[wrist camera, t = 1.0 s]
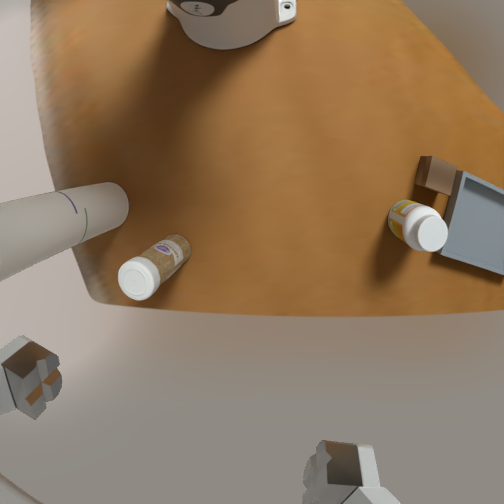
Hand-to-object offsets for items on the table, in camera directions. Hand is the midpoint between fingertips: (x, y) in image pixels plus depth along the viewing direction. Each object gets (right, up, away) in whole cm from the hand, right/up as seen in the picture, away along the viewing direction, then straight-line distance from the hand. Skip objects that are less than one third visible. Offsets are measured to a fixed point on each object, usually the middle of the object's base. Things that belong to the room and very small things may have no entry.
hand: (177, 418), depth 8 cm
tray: (+37, +9, +30) cm, 49 cm away
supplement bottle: (+23, +9, +32) cm, 40 cm away
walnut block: (+26, +15, +30) cm, 43 cm away
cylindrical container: (-19, +12, +37) cm, 43 cm away
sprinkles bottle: (-9, +5, +37) cm, 39 cm away
